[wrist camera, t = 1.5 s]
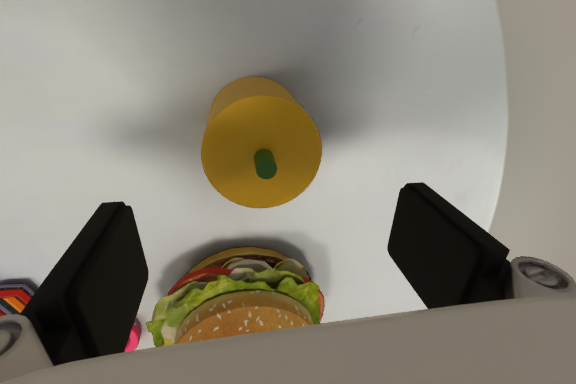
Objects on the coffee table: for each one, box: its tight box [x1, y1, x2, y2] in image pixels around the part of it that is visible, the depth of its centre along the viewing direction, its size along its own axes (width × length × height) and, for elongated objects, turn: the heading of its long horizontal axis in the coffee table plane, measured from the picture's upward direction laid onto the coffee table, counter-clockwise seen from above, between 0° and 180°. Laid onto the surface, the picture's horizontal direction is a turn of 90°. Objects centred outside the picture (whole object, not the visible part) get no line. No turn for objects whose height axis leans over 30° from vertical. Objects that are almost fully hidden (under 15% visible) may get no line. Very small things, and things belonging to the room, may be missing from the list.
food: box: [146, 247, 325, 347], centre depth 24 cm, size 14×14×8 cm
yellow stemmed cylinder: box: [201, 77, 322, 208], centre depth 17 cm, size 6×6×8 cm
